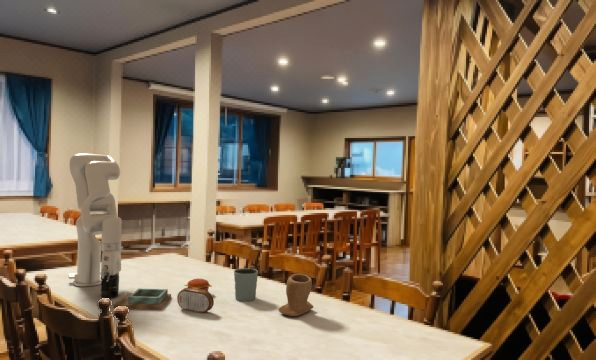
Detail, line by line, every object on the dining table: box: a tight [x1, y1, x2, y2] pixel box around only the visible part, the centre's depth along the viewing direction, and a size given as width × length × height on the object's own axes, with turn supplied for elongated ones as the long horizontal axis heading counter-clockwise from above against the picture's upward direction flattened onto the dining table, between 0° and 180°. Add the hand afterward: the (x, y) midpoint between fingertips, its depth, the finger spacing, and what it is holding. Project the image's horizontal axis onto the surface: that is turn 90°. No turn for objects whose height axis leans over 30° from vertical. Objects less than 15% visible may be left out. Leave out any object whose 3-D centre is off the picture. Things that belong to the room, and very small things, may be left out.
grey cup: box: [233, 267, 259, 303], centre depth 183 cm, size 10×10×12 cm
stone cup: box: [277, 273, 314, 317], centre depth 168 cm, size 15×12×15 cm
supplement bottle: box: [100, 273, 120, 299], centre depth 179 cm, size 7×7×12 cm
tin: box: [176, 287, 215, 314], centre depth 166 cm, size 15×3×8 cm, turn 71°
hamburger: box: [183, 278, 213, 292], centre depth 188 cm, size 9×10×7 cm
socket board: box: [112, 288, 172, 311], centre depth 173 cm, size 18×16×4 cm
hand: (110, 287), depth 179 cm, fingers open, 9 cm apart
